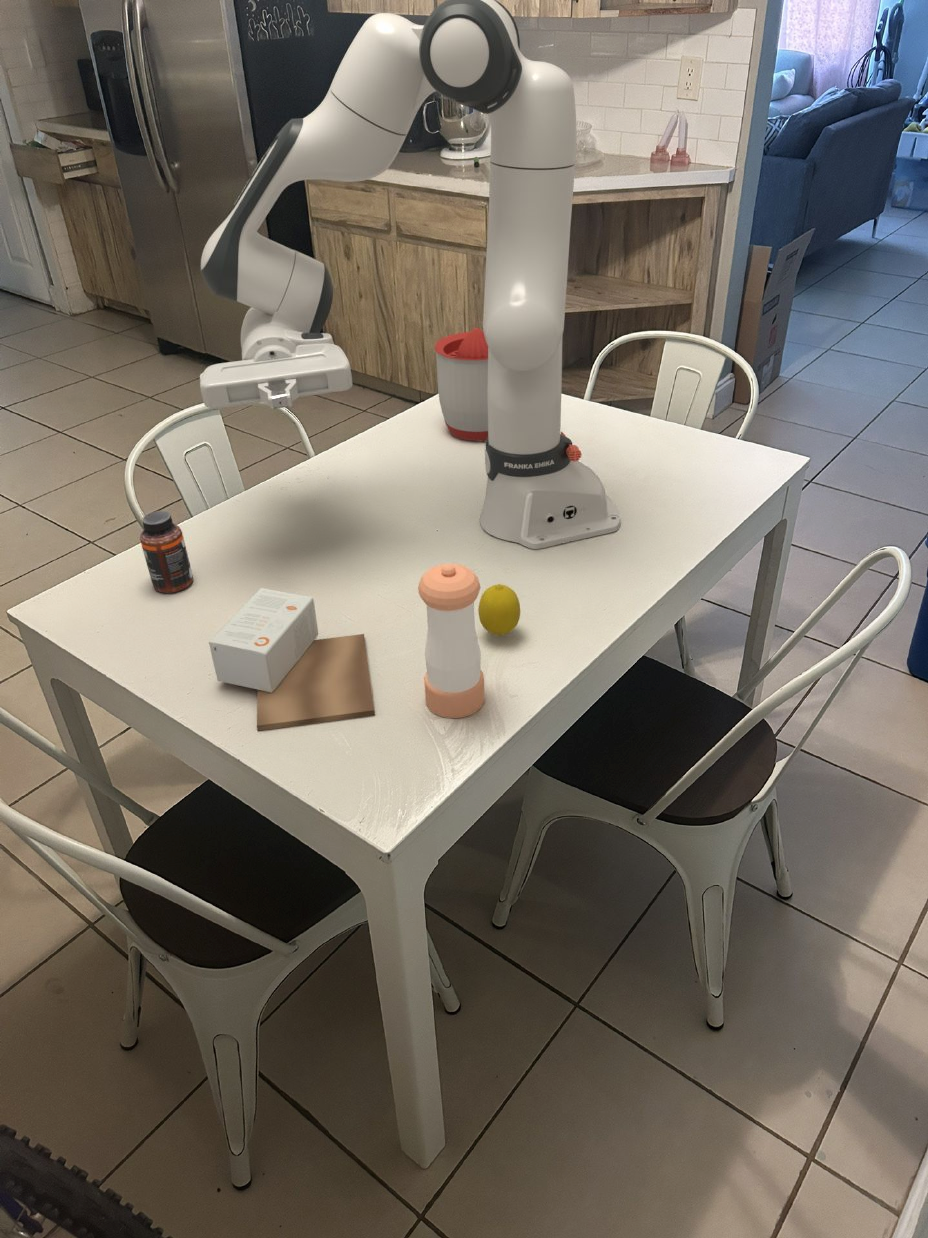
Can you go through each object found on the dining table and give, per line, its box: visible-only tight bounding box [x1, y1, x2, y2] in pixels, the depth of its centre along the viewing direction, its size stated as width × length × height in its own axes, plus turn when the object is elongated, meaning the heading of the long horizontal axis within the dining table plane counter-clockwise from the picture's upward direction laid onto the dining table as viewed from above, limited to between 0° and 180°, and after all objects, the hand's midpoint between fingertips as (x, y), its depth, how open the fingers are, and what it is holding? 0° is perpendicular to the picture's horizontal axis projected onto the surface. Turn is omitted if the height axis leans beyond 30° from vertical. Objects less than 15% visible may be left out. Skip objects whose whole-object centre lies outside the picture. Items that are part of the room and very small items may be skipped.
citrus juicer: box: [433, 327, 488, 442], centre depth 174 cm, size 16×17×20 cm
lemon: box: [477, 584, 521, 637], centre depth 122 cm, size 6×6×8 cm
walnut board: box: [256, 633, 376, 732], centre depth 117 cm, size 14×16×1 cm
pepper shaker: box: [417, 563, 486, 719], centre depth 108 cm, size 7×7×19 cm
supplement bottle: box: [139, 510, 194, 594], centre depth 134 cm, size 6×6×11 cm
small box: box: [208, 587, 319, 693], centre depth 119 cm, size 8×6×13 cm
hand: (280, 402), depth 120 cm, fingers closed
